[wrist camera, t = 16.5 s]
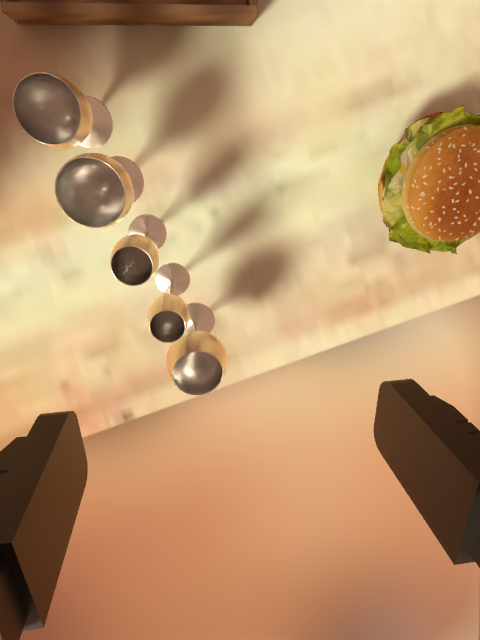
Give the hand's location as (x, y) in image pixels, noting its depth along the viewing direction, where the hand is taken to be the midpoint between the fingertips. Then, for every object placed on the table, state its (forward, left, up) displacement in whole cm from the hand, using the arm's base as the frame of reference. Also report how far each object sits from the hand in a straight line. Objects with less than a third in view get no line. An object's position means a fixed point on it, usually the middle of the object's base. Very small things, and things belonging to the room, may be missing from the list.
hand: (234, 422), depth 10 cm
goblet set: (-5, -1, -34) cm, 35 cm away
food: (+25, +3, -34) cm, 43 cm away
